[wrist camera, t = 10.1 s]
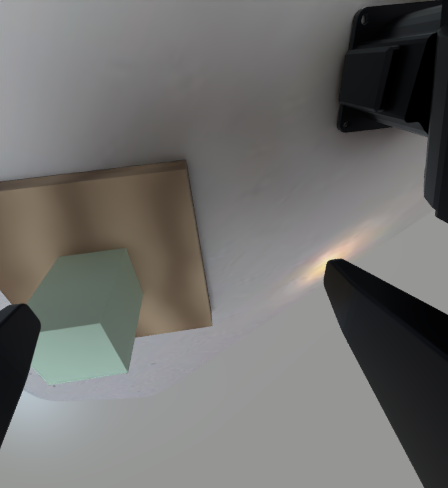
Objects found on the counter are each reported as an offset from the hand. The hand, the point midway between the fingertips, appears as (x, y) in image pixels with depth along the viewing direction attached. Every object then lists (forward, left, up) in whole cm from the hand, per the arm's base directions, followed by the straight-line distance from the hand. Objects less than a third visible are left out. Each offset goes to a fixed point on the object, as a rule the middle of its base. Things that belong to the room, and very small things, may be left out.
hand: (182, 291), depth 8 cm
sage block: (+8, +8, -11) cm, 16 cm away
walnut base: (+8, +8, -13) cm, 17 cm away
